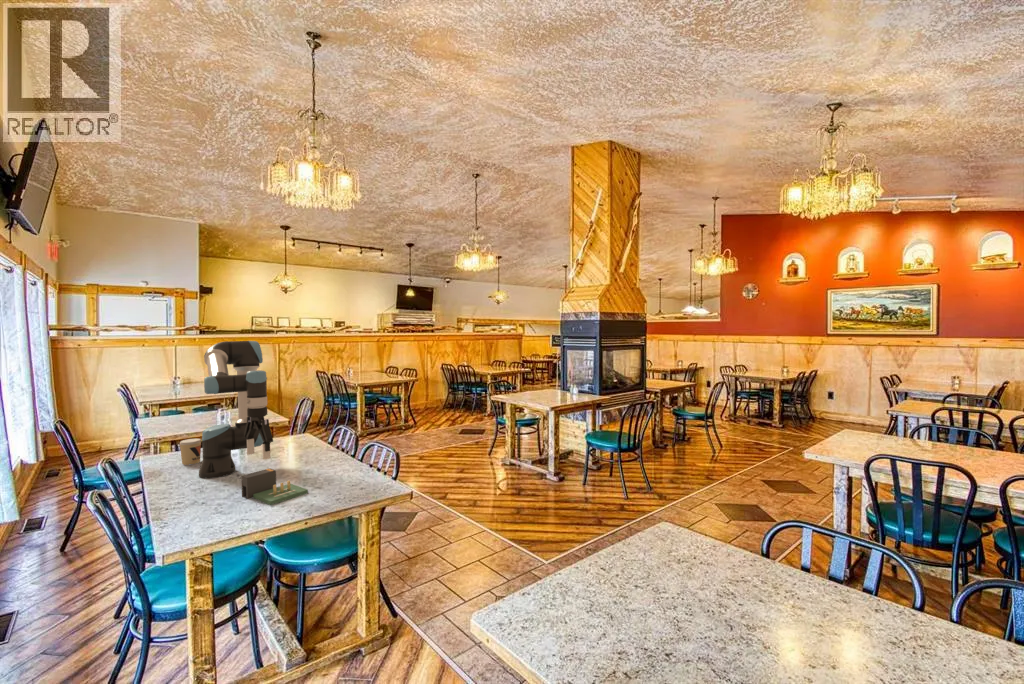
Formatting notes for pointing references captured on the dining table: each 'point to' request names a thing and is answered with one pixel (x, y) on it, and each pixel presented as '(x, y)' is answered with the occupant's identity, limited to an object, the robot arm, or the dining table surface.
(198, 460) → the coffee cup
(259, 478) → the plug housing
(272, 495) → the header board
